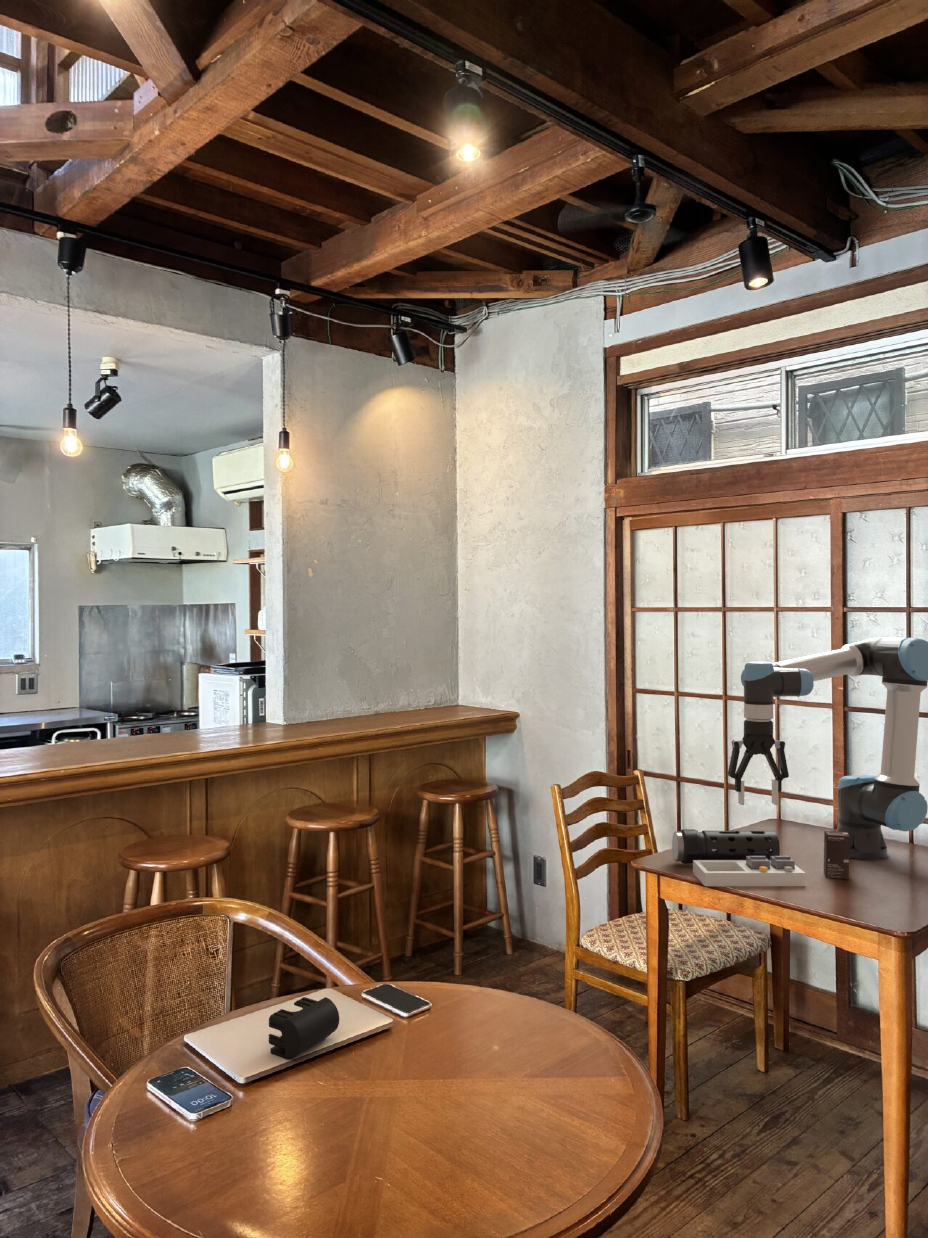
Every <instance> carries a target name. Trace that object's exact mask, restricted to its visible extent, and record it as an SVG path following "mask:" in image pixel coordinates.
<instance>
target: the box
mask: <svg viewBox="0 0 928 1238" xmlns="http://www.w3.org/2000/svg"><path fill="white" fill-rule="evenodd" d="M823 836H824V839H823V843H824V844H823V875H824V877H825V878H826V879H839V880H840V879H841V880H849V879H850V857H849V850H850V836H849V834H848V833H847V832H837V831H835V830H834V831H833V830H824V831H823Z"/></svg>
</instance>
